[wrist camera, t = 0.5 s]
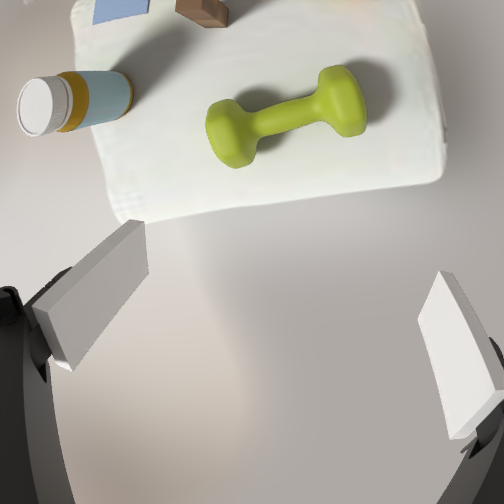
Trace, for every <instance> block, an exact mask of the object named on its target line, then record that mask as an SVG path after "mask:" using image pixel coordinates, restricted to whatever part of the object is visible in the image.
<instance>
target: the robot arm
mask: <svg viewBox="0 0 504 504" xmlns="http://www.w3.org/2000/svg"><path fill="white" fill-rule="evenodd" d="M148 274H149V272H148V262H147V252H146V240H145V226H144V221H137V220H128V221H127V222H126V223H125V224H123V225H122V226H121V227H120V228H118V229H117V230H116V231H115V232H114V233H112V234H111V235H110V236H109V237H108V238H106V239H105V240H104V241H103V242H101V243H100V244H99V245H98V246H97V247H96V248H94V249H93V250H92V251H91V252H90V253H89V254H87V255H86V256H85V257H84V258H83V259H82V260H80V261H79V262H78V263H77V264H76V265H75V266H74V267H69V268H68V269H65V270H63V271H61V272H59V273H58V274H57V275H56V276H55V277H54V278H53V279H52V281H50V282H48V283H47V284H46V285H45V287H43V288H42V289H41V290H40V291H39V292H38V293H37V294H36V295H34V296H33V297H32V298H31V299H30V300H29V301H28V302H27V303H26V304H25V305H24V306H23V304H22V301H21V299H20V297H19V293H18V291H17V289H16V288H15V287H12V286H4V287H1V288H0V504H75V501H74V498H73V494H72V491H71V487H70V484H69V480H68V476H67V473H66V468H65V464H64V460H63V455H62V451H61V446H60V441H59V436H58V430H57V424H56V419H55V412H54V403H53V395H52V386H51V376H50V366H49V363H48V360H47V359H48V358H49V357H50V356H51V354H52V355H53V357H54V359H55V361H56V364H57V365H58V366H60V367H63V368H65V369H67V370H69V371H71V372H73V371H74V369H75V368H76V367H77V365H78V364H79V363H80V361H81V360H82V359H83V357H84V356H85V354H86V353H87V352H88V350H89V349H90V348H91V346H92V345H93V344H94V342H95V341H96V339H97V338H98V337H99V335H100V334H101V333H102V332H103V330H104V329H105V328H106V327H107V325H108V324H109V322H110V321H111V320H112V319H113V317H114V316H115V315H116V314H117V312H118V311H119V310H120V309H121V307H122V306H123V305H124V303H125V302H126V301H127V300H128V298H129V297H130V296H131V295H132V293H133V292H134V291H135V290H136V288H137V287H138V286H139V284H141V282H142V281H143V280H144V279H145V277H146V276H147V275H148ZM417 320H418V323H419V325H420V329H421V331H422V335H423V338H424V341H425V344H426V347H427V350H428V354H429V357H430V361H431V364H432V367H433V371H434V374H435V378H436V382H437V386H438V390H439V394H440V398H441V402H442V406H443V410H444V415H445V419H446V424H447V429H448V434H449V439H461V438H466V437H467V436H468V435H469V434H470V433H471V432H473V431H474V429H476V431H477V437H475V438H474V439H473V440H472V441H471V442H470V443H469V444H468V445H467V446H466V447H464V448H463V450H462V451H461V453H463V452H465V451H466V450H467V449H468V451H467V453H466V455H465V456H464V458H463V460H462V462H461V464H460V466H459V468H458V470H457V471H456V473H455V475H454V476H453V478H452V480H451V482H450V483H449V485H448V487H447V488H446V490H445V491H444V493H443V495H442V496H441V498H440V499H439V501H438V502H437V504H504V358H503V354H502V352H501V350H500V348H499V346H498V345H497V344H496V343H495V342H494V340H493V339H492V338H490V337H488V336H487V334H486V332H485V330H484V328H483V326H482V324H481V322H480V320H479V318H478V316H477V314H476V313H475V311H474V309H473V307H472V305H471V304H470V302H469V300H468V298H467V296H466V295H465V293H464V291H463V289H462V288H461V286H460V284H459V283H458V281H457V280H456V278H455V276H454V275H453V273H449V272H444V271H439V272H438V274H437V276H436V279H435V281H434V284H433V286H432V288H431V291H430V293H429V295H428V297H427V300H426V302H425V304H424V306H423V308H422V311H421V313H420V315H419V317H418V319H417Z"/></svg>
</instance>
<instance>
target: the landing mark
mask: <svg viewBox="0 0 504 504" xmlns="http://www.w3.org/2000/svg"><path fill="white" fill-rule="evenodd" d="M148 3H149V0H96V2H95V9H94V17H93V25H94V24H98V23H102V22H106V21H110V20H115V19H119V18H124V17H129V16H134V15H139V14H145V13H147V12H148Z"/></svg>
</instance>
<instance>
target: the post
mask: <svg viewBox="0 0 504 504" xmlns="http://www.w3.org/2000/svg"><path fill="white" fill-rule="evenodd" d="M175 12H177V13H179V14H181V15H183V16H185V17H187V18H188V19H190V20H192V21H194V22H196V23H197V24H199V25H201V26H203V27H204V28H227V19H228V8H227V7H226V6H225V5H224V4H223V3H222V2H221V1H220V0H176V8H175Z"/></svg>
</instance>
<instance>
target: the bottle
mask: <svg viewBox="0 0 504 504" xmlns="http://www.w3.org/2000/svg"><path fill="white" fill-rule="evenodd" d="M132 97H133V91H132V85H131V83H130V80H129V79H128V78H127V77H126V76H125V75H124V74H122V73H120V72H116V71H71V72H63V73H60V74H58V75H57V76H52V77H51V76H49V77H38V78H34V79H32V80H30V81H28V82H27V83H26V84H25V85H24V87H23V88H22V90H21V92H20V95H19V98H18V102H17V118H18V122H19V125H20V127H21V129H22V130H23V132H24V133H25V134H27V135H29V136H32V137H37V136H41V135H44V134H47V133H51V132H54V131H57V132H68V131H72V130H76V129H79V128H83V127H87V126H91V125H96V124H100V123H104V122H109V121H113V120H117V119H119V118H120V117H122V116H123V115H124V114H125V113H126V112H127V111H128V109H129V107H130V105H131V102H132Z"/></svg>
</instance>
